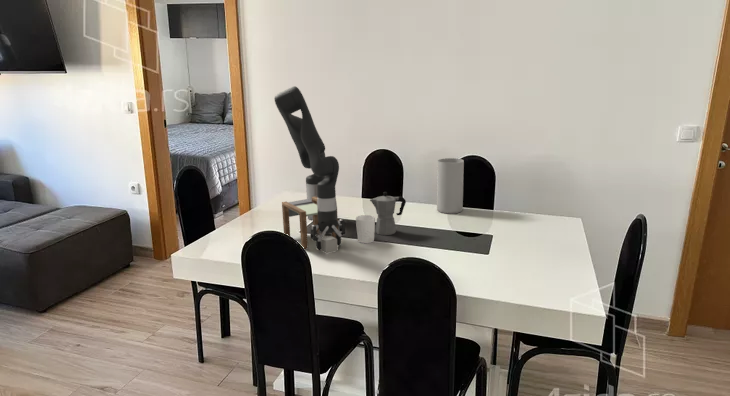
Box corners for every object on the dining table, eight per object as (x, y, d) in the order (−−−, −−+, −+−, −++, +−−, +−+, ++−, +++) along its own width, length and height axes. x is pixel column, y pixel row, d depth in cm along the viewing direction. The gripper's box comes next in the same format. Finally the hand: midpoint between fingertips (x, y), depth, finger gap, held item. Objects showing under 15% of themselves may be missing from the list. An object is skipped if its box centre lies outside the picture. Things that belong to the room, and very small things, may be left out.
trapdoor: (284, 214, 222) (283, 203, 221) (308, 209, 228) (307, 198, 227) (304, 225, 206) (304, 213, 205) (329, 220, 212) (329, 208, 210)
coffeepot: (371, 235, 219) (370, 195, 215) (370, 229, 228) (369, 189, 224) (407, 234, 220) (407, 193, 215) (404, 227, 229) (404, 188, 224)
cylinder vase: (466, 209, 256) (467, 159, 250) (456, 215, 246) (457, 163, 240) (443, 205, 263) (443, 157, 256) (432, 211, 252) (433, 161, 246)
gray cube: (331, 247, 207) (330, 235, 206) (337, 250, 203) (337, 238, 202) (320, 250, 204) (319, 238, 203) (326, 253, 200) (325, 241, 199)
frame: (317, 230, 229) (315, 196, 225) (338, 241, 213) (337, 205, 209) (284, 237, 221) (281, 202, 217) (303, 249, 205) (301, 212, 201)
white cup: (377, 238, 216) (377, 215, 214) (372, 244, 209) (371, 221, 206) (360, 236, 219) (359, 214, 216) (353, 242, 211) (353, 219, 209)
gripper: (338, 203, 206) (339, 241, 210) (306, 208, 199) (308, 248, 203) (347, 207, 200) (349, 246, 204) (315, 213, 193) (317, 254, 197)
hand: (328, 247), depth 203 cm, fingers open, 8 cm apart
